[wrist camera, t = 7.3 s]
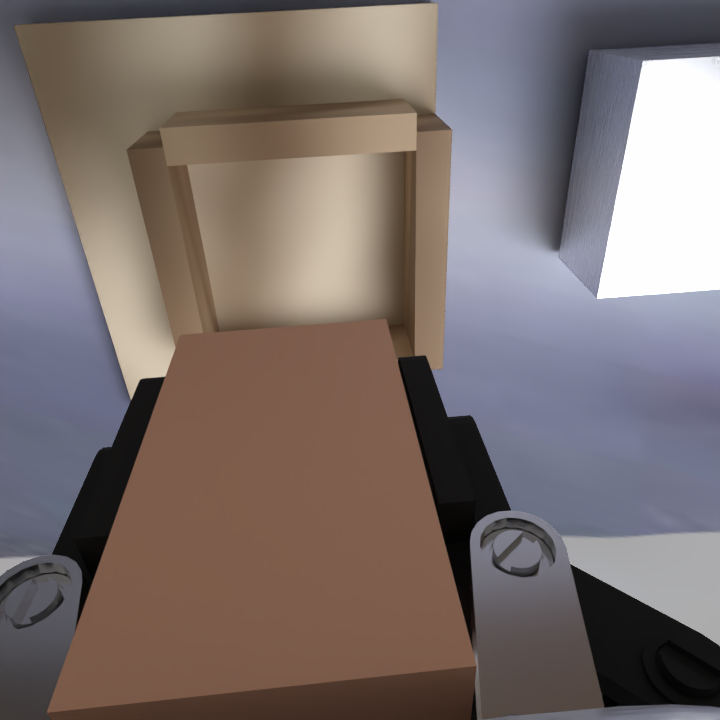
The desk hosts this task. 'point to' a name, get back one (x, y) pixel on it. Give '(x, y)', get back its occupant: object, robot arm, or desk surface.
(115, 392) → the desk surface
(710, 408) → the desk surface
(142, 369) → the socket board
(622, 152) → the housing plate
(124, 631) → the block
